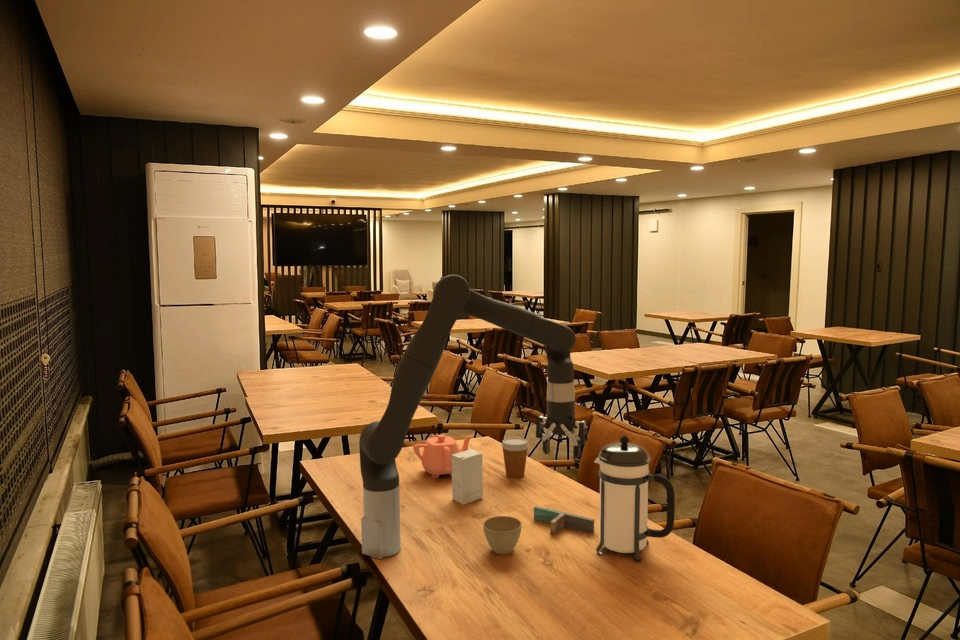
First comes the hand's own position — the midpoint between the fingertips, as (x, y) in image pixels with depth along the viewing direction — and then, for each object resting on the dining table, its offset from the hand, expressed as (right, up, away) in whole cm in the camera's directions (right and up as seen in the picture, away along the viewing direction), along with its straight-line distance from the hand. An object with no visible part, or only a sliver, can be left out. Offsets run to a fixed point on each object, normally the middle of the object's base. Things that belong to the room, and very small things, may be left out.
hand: (561, 455), depth 174 cm
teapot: (-35, -17, +50) cm, 63 cm away
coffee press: (+16, -22, -10) cm, 29 cm away
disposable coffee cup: (-10, -17, +46) cm, 50 cm away
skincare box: (-26, -19, +25) cm, 41 cm away
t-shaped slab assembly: (-1, -21, +2) cm, 21 cm away
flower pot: (-16, -23, -10) cm, 29 cm away
